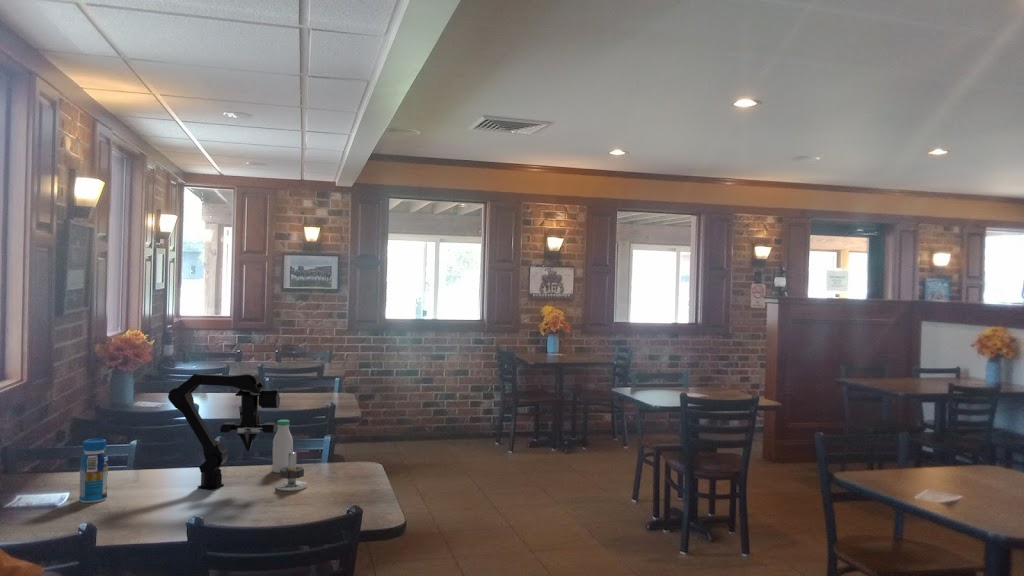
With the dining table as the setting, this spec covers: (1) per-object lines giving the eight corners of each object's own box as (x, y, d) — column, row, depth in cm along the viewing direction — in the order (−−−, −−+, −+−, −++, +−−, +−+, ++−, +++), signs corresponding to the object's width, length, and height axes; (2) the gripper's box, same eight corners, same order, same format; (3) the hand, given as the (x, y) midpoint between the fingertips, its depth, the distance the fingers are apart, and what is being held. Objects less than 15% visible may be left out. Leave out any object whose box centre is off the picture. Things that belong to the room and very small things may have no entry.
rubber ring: (275, 477, 268) (275, 470, 268) (289, 472, 275) (289, 465, 275) (294, 479, 265) (294, 472, 265) (307, 474, 273) (307, 467, 273)
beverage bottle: (72, 501, 246) (74, 441, 246) (94, 495, 254) (96, 436, 254) (91, 504, 244) (93, 443, 244) (113, 498, 252) (114, 439, 252)
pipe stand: (269, 489, 267) (270, 454, 267) (288, 481, 277) (289, 448, 277) (294, 492, 263) (295, 457, 263) (313, 485, 274) (314, 451, 274)
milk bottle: (296, 470, 295) (297, 420, 295) (281, 474, 288) (282, 422, 288) (283, 467, 299) (284, 417, 299) (267, 471, 292) (269, 420, 292)
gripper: (280, 404, 278) (279, 446, 278) (229, 404, 276) (228, 446, 276) (273, 409, 267) (272, 453, 267) (220, 409, 265) (219, 453, 265)
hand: (248, 451), depth 269 cm, fingers closed
